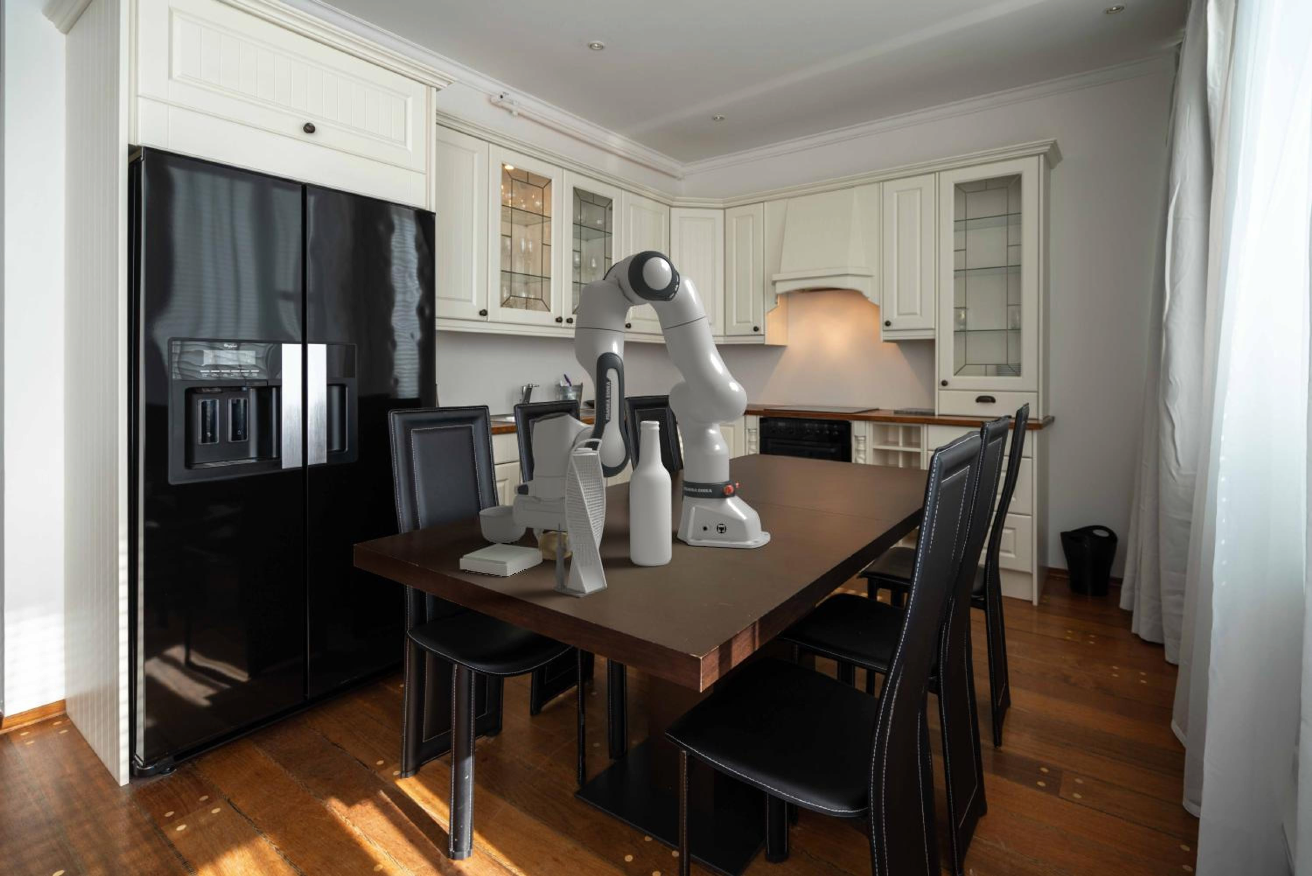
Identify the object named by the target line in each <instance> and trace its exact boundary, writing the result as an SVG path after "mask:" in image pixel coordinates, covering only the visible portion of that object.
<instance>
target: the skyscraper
mask: <svg viewBox="0 0 1312 876" xmlns="http://www.w3.org/2000/svg"><path fill="white" fill-rule="evenodd" d="M590 441H598V442H599V445H598V448H597V451H594V450H592V448H578V449H577V451H575V452H574V450H575V449H576V447H577V446H578V445H580V444H582V443H585V442H590ZM601 444H602V440H600V439H586V440H582V441H580V442H578V443H577V444H576V445H575V446H574V447H573V448H572V450H571V452H570V457H569V463H568V470H567V477H566V487H565V514H566V523H567V529H568V535H569V540H570V544H571V548H572V551H571V553H572V554H571V563H570V569H569V573H568V579H567V583H566V582H565V579H566V569H565V564H564V563H565V562H564V561H565V560H564V559H565V558H564V546H562V532H563V531H560V523H558V527H559V531H556V532H557V535H558V546H556V559H557V560H556V566H555V567H556V568H555V580H556V585H555V587H554V588H553V591H554V590H555V592H558V593H563V594H566V595H569V596H572V597H575V598H579V599H581V598H584V597H586V596H590V595H592V594H595V593H598V592H601V591H603V590H606V589H607V588H608V586H607V581H606V576H605V572H604V568H603V564H602V559H601V555H600V550H599V549H600V545H601V541H602V537H603V530H604V526H605V518H606V508H607V507H606V506H607V504H606V503H607V501H606V497H607V495H606V494H607V493H606V485H605V479H604V477H603V471H602V466H601V461H600V456H599V450H600V447H601Z"/></svg>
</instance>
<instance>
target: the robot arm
mask: <svg viewBox="0 0 1312 876" xmlns="http://www.w3.org/2000/svg"><path fill="white" fill-rule="evenodd" d="M578 301H579V302H578V307H577V310H576V316H575V325H574V336H573V337H574V339H573V340H574V341H573V342H574V343H573V344H574V345H573V346H574V354H575V359H576V361H577V362H578V364H579V365H580V366H581V367H582V368H583V370H585V371H586V372H587V374H588V375H589V377H590V379H591V381H592V384H593V389H594V407H593V408H594V411H593V412H594V413H593V414H594V415H593V419H594V420H593V425H590V424H587V423H584V422H583V421H581V420H579V419H576V418H575V417H573V416H572V415H570V413H568V412H562V411H561V412H553V413H548V414H545V415H542V416H539V417H538V418H537V419H536V420H535V422H534V426H533V433H532V458H533V460H534V461H533V462H534V468H533V472H532V478H533V479H531V480H528V481H525V482H522V483H519V484H516V485H514V487H513V493H514V494H515V495H516V496H515V497H514V499H513V502H512V505H513V521H514V523H515V525H516V526H520V527H526V528H529V529H530V528H531V529H533V530H532V531H533V532H532V533H533V534H534V537H536V540H537V543H538V545H537V547H538V548H539V536H541V535H543V534H544V533H543V532H544V531H545V530H550V531H556V532H559V527H558V523H560V532H565V533H567V536H569V535H568V529H567V523H566V514H565V487H566V477H567V470H568V463H569V457H570V452H571V450H572V448H573V447H574V446H575V445H576V444H577V443H578V442H580V441H582V440H586V439H600V440H602V444H601V447H600V450H599V456H600V461H601V466H602V471H603V477H604V478H605V479H607V478H613V477H616V476H618V475H620V474H621V473H622V472H623V471H624V470H625V469H626V467H627V466H628V464H629V461H630V459H631V445H630V442H629V438H628V436H627V432H626V427H625V425H626V424H625V397H626V396H625V393H626V392H625V386H626V385H625V369H624V368H625V367H624V365H625V364H624V353H625V350H624V349H625V337H626V336H625V333H626V319H627V315H628V312H629V309H630V308H631V307H634V306H635V307H636V306H638V307H639V306H643V305H646V304H649V305H650V306H651V307H652V308H653V309H654V311H655V313H656V315H657V319H658V321H659V325H660V329H661V333H662V336H663V340H664V343H665V346H666V350H667V353H668V356H669V359H670V361H671V363H672V364H673V366H675V368H677V369H678V371H679V373H680V374H681V375H682V377H683V379H682V380H680V381H678V382H677V383H675V384H674V385H673V386H672V388H671V389H670V391H669V393H668V394H669V395H668V405H669V407H670V409H671V410H672V412H673V415H674V416H675V418H676V423H677V426H678V429H679V434H680V440H681V445H682V452H683V453H682V455H683V479H682V480H681V501H682V511H681V518H680V523H679V528H678V531H677V532H678V533H677V535H676V536H677V538H678V539H679V540H681V541H683V542H685V543H687V544H688V545H689V546H699V547H704V546H705V547H717V548H718V547H719V548H733V549H734V548H738V549H755V548H759V547H763V546H764V545H767V544H768V543H769V542H770V541H771V534H770V533H769V532H767V531H762V526H761V520H760V517H759V514H758V511H756V510H755V509H754V508H752V507H751V506H750V505H749V504H747V503H746V502H745V501H744V500H742V498H740V497H739V496H738V495H737V492H738V490H737V489H738V488H739V482H737V483H735V482H733V481H732V480H731V479H730V449H729V445H728V444H727V442H726V441H725V439H724V437H723V435H722V432H721V427H720V425H725V424H729V423H733V422H735V421H738V420H739V419H740V418H741V417H742V416H743V415H744V414H745V411H746V410H747V406H748V397H747V392H746V390H745V389H744V387H743V386H742V384H740V383H739V382H738V381H736V378H734V377H733V375H732V374H731V372H730V371H729V369H728V367H727V366H726V363H725V362H724V360H723V358H722V356H721V355H720V353H719V351H718V348H717V346H716V343H715V341H714V336H713V334H712V330H711V327H710V324H709V321H708V316H707V313H706V310H705V306H704V303H703V300H702V298H701V296H700V294H699V291H698V289H697V287H696V284H695V282H694V281H693V279H691V277H689V276H687V275H686V274H685V275H684V274H681V273H679V271H678V270H677V269H676V268H675V266H674V264H673V262H672V261H671V260H670V258H669V257H667V256H666V254H664V253H662V252H660V251H656V250H644V251H640V252H638V253H634V254H630V255H628V256H626V257H625V258H623V259H621V260H620V261H618V262H616V263H614V264H613V265H612V266H611V267H609V269H608V270H607V271H606V273H605V275H604V276H603V278H602V279H597V280H593V281H591V282H588V283H587V284H585V285H584V287H583V288H582V290H581V293H580V296H579V300H578ZM598 445H599V442H598V441H590V442H585V443H582V444H580V445H578V446H577V447H576V449H575V450H574V452H575V451H577V449H578V448H592V450H594V451H597V448H598ZM563 546H564V551H568V552H570V551H571V552H572V548H571V544H570V540H569V538H568V540H567V542H565V543H563Z"/></svg>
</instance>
